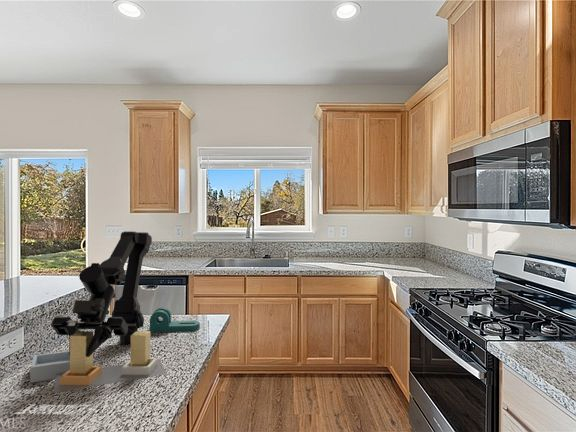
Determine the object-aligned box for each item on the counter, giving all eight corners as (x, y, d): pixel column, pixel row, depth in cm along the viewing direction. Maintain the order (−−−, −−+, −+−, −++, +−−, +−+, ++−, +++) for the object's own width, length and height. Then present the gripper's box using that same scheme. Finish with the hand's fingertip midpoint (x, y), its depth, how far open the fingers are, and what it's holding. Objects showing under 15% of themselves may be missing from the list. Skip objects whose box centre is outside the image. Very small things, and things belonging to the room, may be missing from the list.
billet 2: (135, 366, 113) (136, 331, 113) (150, 366, 114) (150, 331, 113) (130, 372, 109) (130, 335, 109) (145, 372, 110) (145, 335, 109)
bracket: (149, 332, 150) (149, 311, 150) (153, 327, 157) (153, 307, 157) (199, 331, 153) (199, 310, 153) (200, 326, 160) (200, 306, 160)
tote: (34, 369, 115) (34, 355, 115) (74, 363, 119) (74, 350, 119) (30, 382, 106) (30, 367, 106) (73, 376, 110) (73, 361, 110)
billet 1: (78, 368, 107) (78, 331, 107) (93, 368, 107) (93, 331, 107) (69, 374, 103) (70, 335, 103) (85, 375, 103) (85, 336, 103)
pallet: (56, 380, 108) (56, 367, 108) (159, 363, 120) (159, 352, 120) (53, 399, 97) (53, 384, 97) (166, 379, 109) (166, 366, 109)
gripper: (54, 286, 109) (28, 341, 98) (124, 287, 109) (105, 341, 98) (70, 308, 117) (47, 361, 106) (134, 309, 117) (119, 361, 106)
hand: (79, 356), depth 104 cm, fingers closed on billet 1, 4 cm apart
